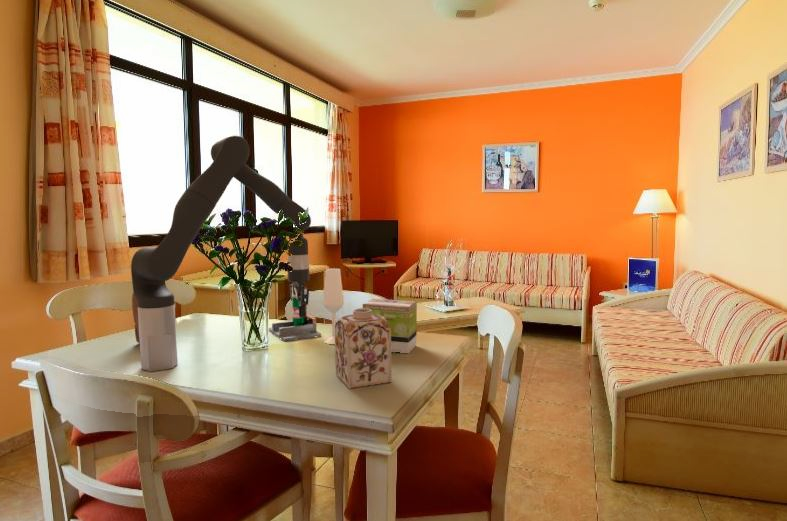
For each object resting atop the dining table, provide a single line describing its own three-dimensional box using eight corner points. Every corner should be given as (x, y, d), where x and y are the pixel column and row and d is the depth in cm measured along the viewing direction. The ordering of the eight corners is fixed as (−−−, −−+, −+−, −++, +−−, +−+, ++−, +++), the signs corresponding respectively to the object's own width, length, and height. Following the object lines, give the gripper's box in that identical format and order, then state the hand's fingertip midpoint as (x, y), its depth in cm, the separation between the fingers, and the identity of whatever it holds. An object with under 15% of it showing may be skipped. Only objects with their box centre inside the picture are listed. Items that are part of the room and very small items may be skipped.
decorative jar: (376, 369, 135) (376, 304, 133) (393, 382, 125) (392, 312, 123) (334, 375, 131) (332, 307, 129) (347, 389, 120) (345, 316, 118)
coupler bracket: (321, 336, 171) (320, 320, 170) (284, 341, 164) (283, 325, 164) (303, 326, 186) (302, 311, 186) (268, 330, 180) (268, 315, 179)
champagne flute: (347, 343, 162) (346, 269, 159) (327, 345, 159) (325, 271, 157) (340, 338, 168) (339, 267, 165) (321, 340, 165) (319, 268, 163)
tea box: (361, 350, 153) (361, 303, 152) (372, 342, 163) (372, 297, 161) (409, 354, 149) (408, 305, 147) (417, 345, 158) (417, 300, 157)
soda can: (289, 327, 175) (288, 294, 174) (299, 324, 180) (299, 292, 178) (300, 329, 173) (299, 295, 171) (310, 326, 177) (309, 293, 176)
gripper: (316, 268, 170) (317, 317, 171) (301, 264, 182) (302, 310, 184) (294, 270, 166) (296, 320, 168) (281, 266, 178) (283, 312, 180)
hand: (299, 314), depth 176 cm, fingers closed on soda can, 5 cm apart
